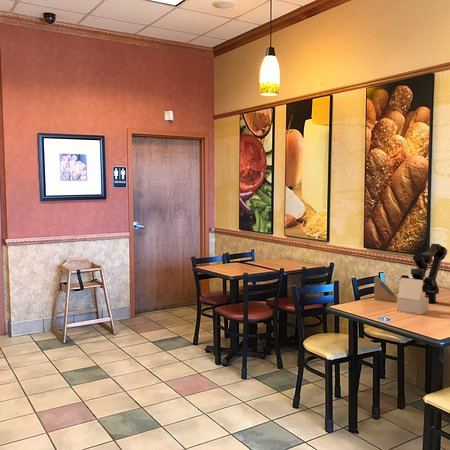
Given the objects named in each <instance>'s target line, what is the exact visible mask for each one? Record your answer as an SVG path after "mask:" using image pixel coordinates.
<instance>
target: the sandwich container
mask: <svg viewBox="0 0 450 450" xmlns="http://www.w3.org/2000/svg"><path fill="white" fill-rule="evenodd" d="M373 278H374V279H373V282H374V283H373V285H374V286H373V287H374V289H373V290H374V291H373V292H374V294H373V299H374V301H379V302H380V301H381V302H391V303H397V298H398V295H397V294H396V293H394V292H393V291H392V290H391V289H390V287H388V286H387V285H386V284H385V282H384V281H383V280H382V279H381V278H380V277H379V276H378V275H376V276H374V277H373Z"/></svg>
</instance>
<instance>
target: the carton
mask: <svg viewBox="0 0 450 450" xmlns="http://www.w3.org/2000/svg"><path fill="white" fill-rule="evenodd" d="M429 305H430V303H429V298H428V297H425V296H421V297H420V301H419V300H412V299H405V298H397V302H396V312H399V311H400V312H401V313H405V312H406V314H413V315H418V316H422V315H423V314H426V313H427V312H429Z"/></svg>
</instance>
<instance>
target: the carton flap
mask: <svg viewBox="0 0 450 450" xmlns="http://www.w3.org/2000/svg"><path fill="white" fill-rule="evenodd" d="M399 284H400V285H399V289H398V294H397V297H398V298H405V299H412V300H419V301H420V297H422V293H423V290H422V286H423V280H416V279H408V278H401V277H400V283H399Z"/></svg>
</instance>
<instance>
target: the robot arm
mask: <svg viewBox="0 0 450 450" xmlns="http://www.w3.org/2000/svg"><path fill="white" fill-rule="evenodd" d="M447 255H448V250H447V248H446V247H445V246H443V245H441V244H440V243H431V244H430V246H429V248H428V249H426V251H425V252H417V253H416V254H414V255H413V256H412V260H413V262H414V264H415V266H416V268H411V269H410V274H411V276H410V277H409V275H408V274H406V275H405V274H402V275H401V276H400V279H401V278H408V279H416V280H423V286H422V293H425V294H424V297H428V298H429V304H438V302H439V301H437V295H439V293H440V289H439V287H438V283H437V277H438V273H439V269H440V266H441V263H442V261H443V260H444V259H445V258H446V256H447ZM428 265H431V266H430V269H429V268H428V267H429V266H428ZM428 269H429V272H428V275H427V277H426V273H427V271H428Z"/></svg>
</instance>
